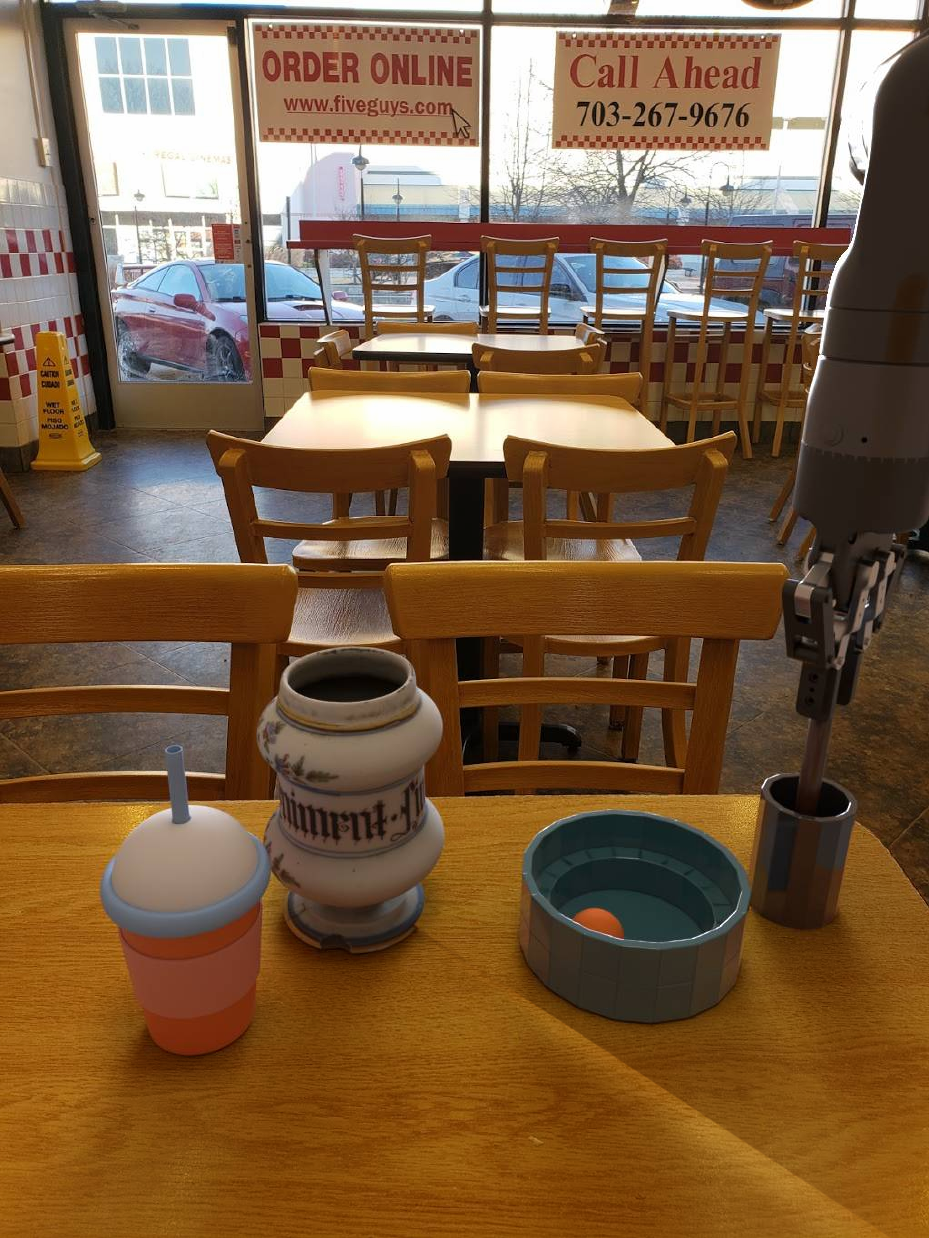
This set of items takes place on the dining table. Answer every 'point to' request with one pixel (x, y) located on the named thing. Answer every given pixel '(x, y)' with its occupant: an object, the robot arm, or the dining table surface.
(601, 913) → the ball
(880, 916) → the dining table surface
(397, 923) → the apothecary jar
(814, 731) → the stirring stick
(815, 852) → the holder
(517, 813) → the dining table surface
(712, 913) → the bowl
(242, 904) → the cup with straw
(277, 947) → the dining table surface
